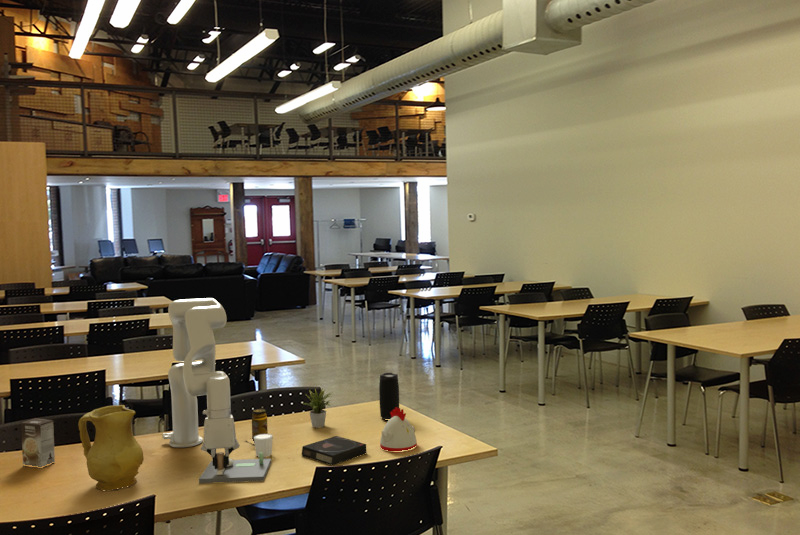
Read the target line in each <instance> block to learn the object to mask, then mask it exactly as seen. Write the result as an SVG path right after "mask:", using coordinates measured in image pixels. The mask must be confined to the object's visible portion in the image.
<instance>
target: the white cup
mask: <svg viewBox="0 0 800 535" xmlns="http://www.w3.org/2000/svg"><path fill="white" fill-rule="evenodd" d="M273 437H274V436H273V435H272V434H270V433H268V434H259V435H256V436H254V443H255V444H254V449H255V457H257V456H258V457H257V458H259V453H261V452H262V453H263V458H268V457H270V455H271V454H273V453H272V451H273ZM267 456H268V457H267ZM271 456H272V455H271Z"/></svg>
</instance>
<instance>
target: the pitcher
mask: <svg viewBox="0 0 800 535" xmlns="http://www.w3.org/2000/svg"><path fill="white" fill-rule="evenodd" d="M135 415H136V411H135V410H133V409H129V408H126V406H125V405H124V404H118V405H116V404H115V405H107V406H103V407H99V408H95V409H93V410H92V411H90V412H87V413H85V414H84V415H83V416H82V417H80V418H79V420H78V430H79V437H80V441H81V445H82V448H83V455H84V457H85V459H86V468H87V472H88V475H89V477H90V479H93V480H94V481H95V482H97V483H95V487H96V488H97V490H100V489H101V490H100V491H103V490H112V489H117V488H121V489H123V488H122V487H125V488H128V487H127V486H129V487H131V486H133V485H135V484H136V483H137V482H138V480H137V478H136V476H137V475H139V473H140V472H139V469H140V467H141V465H142V464H143V462H144V451H143V449H142V447H141V445H140V443H139V442H138V440H136V438H135V436H134V434H133V430H132V418H133V417H134V416H135ZM87 422H91V423H92V425H93V426H94V429H95V436H94V441H93V443H92V444H91V440H90V436H89V433H88V430H87ZM130 485H131V486H130ZM112 491H113V490H112Z"/></svg>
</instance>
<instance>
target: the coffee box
mask: <svg viewBox="0 0 800 535" xmlns="http://www.w3.org/2000/svg"><path fill="white" fill-rule="evenodd" d="M20 425H21V426H20V427H21V447H22V448H21V450H22V451H21V452H22V454H21V455H22V465H23V464H25V465H32V466H38V467H42V466H45V465H47V464H50V463H52V462H55V463H56V460H55V459H56V458H55V435H54V433H55V431H54V420H52V419H45V418H36V417H35V418H32V419H28V420H26V421H23V422H21V423H20Z"/></svg>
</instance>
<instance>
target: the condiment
mask: <svg viewBox="0 0 800 535" xmlns="http://www.w3.org/2000/svg"><path fill="white" fill-rule="evenodd" d="M251 413H252V414H251V415H252V417H251V437H252V439H253V441H254V436H256V435H259V434H269V433H268V430H269V429H268V416H267V410H266V409H264V408H257V409H254V410H252V412H251Z"/></svg>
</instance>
